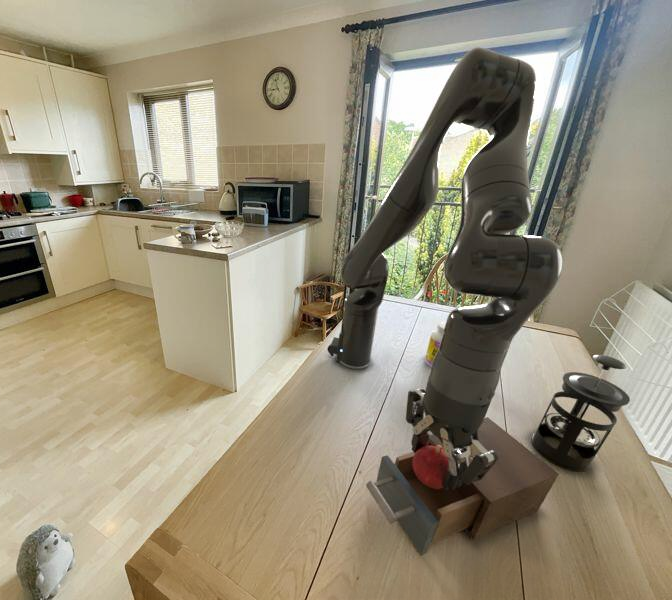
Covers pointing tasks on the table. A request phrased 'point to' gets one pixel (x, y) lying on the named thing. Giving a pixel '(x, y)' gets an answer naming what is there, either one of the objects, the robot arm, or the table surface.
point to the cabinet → (507, 481)
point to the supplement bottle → (434, 343)
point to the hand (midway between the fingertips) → (432, 467)
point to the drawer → (422, 503)
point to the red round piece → (431, 465)
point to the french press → (580, 417)
